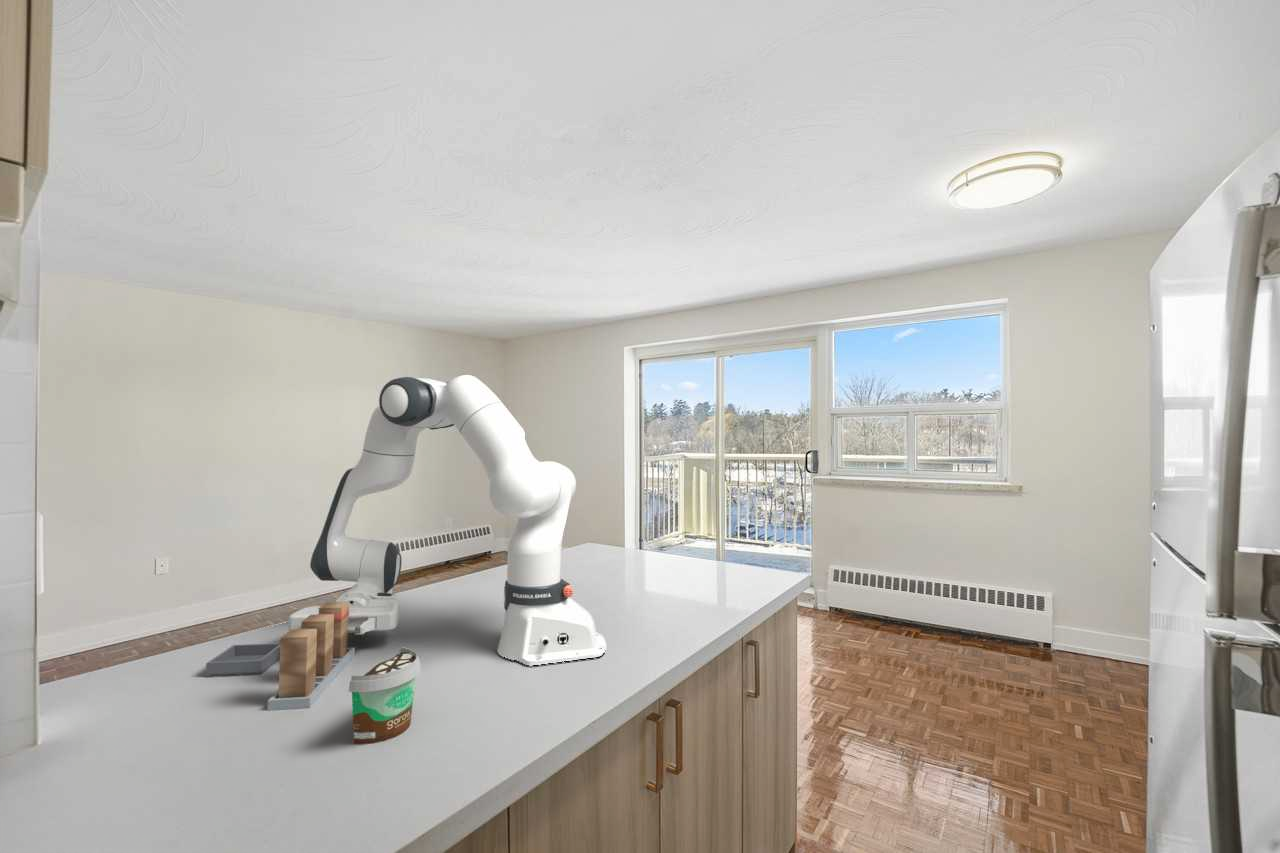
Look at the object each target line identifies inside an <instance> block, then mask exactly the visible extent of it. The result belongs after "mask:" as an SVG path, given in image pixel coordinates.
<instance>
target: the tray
mask: <svg viewBox="0 0 1280 853" xmlns="http://www.w3.org/2000/svg"><path fill="white" fill-rule="evenodd" d="M278 661H280V642H278V643H277V642H276V643H275V642H273V643H270V642H269V643H252V644H251V643H250V644H249V643H246V644H232V645H231V646H230V647H228V648H226V649H225V650H223V652H221V653H219V654H218V655H217V656H214V657H213V658H212V659H210V660H209V661H207V662H206V665H205V678H210V677H209V676H221V677H238V676H239V675H242V676H257V675H259V676H260V675H263V674H264V673H265V672H266V671H267V670H268V669H270V668H271V667H272V666H273V665H274V664H276V662H278ZM234 675H235V676H234ZM239 677H240V676H239Z"/></svg>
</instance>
